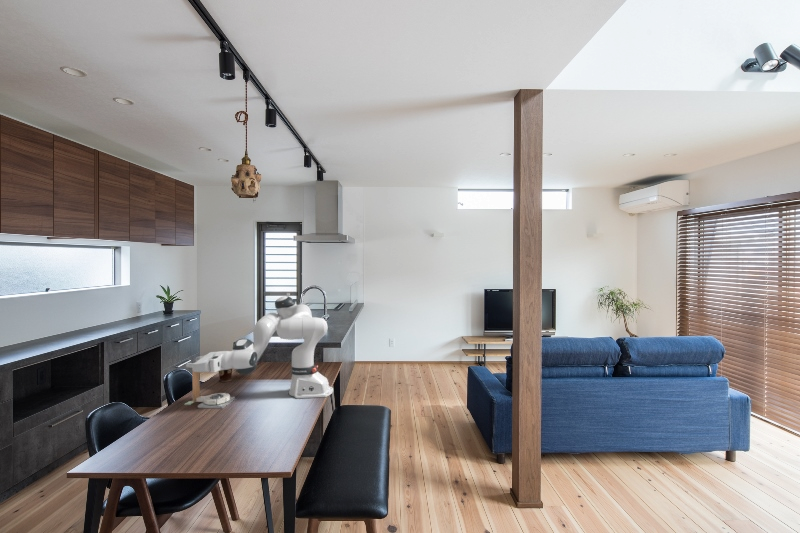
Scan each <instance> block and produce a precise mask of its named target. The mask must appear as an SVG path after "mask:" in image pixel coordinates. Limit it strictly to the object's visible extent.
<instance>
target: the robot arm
mask: <svg viewBox="0 0 800 533" xmlns="http://www.w3.org/2000/svg"><path fill="white" fill-rule="evenodd" d="M296 302H297V300H295V299H293V298H292V297H291V296H289V295H283V296H280V297H279V298H277V299H276V300H275V301H274V306H275V307H274V308H275V309H276V313H275V312H269V313H267V314H265V315H263V316H262V317H261V318H260V319H259V320H258V321H256V322H255V324H254V327H253V329H252V334H253V336H252V337H253V340H251V339H249V338H239V339H238V340H236V341H235V342H234V344H233V346H232V350H220V351H210V352H208V353H207V354H205V355H201V356H196V357H195V362H193V363H192V362H187V363H186V364H185V367H186V368H191V369H192V368H193V371H194V372H199V373H209V372H210V373H211V374H214V373H217V372H219V371H220V370H228V369H232V370H233V369H234V370H235V371H236V373H238V374H240V375H242V376H249V375H251V374H252V373H254V371H255V370H256V369H257V368H258V363H259V361H260V360H261V358H262V356H263V355H264V353H265V351H266V349H267V348H268V345H269V343H270V341H271V338H272V337H273V335H274V333H275V332H276V334H277V336H278V337H279V338H280V339H283V340H289V341H290V340H291V341H292V340H303V342H302V343H301V344H299V345H297V346H296V347H295V348H293V350H292V351H291V366H290V377H291V381H290V389H289V392H288V394H289V396H291V397H294V398H295V399H309V398H311V399H315V398H326V397H329V396H331V394H333V392H334V387H332V386H330V385H329V379H328V378H327V377H325V376H324V375H323V374H321V373H320V372H319V371H318V367H319V365H316V364H315V362H314V360H315V359H314V357H315V349H316V346H317V344H318V343H319V342H320V340H321V339H322V338H323V337H325V335H326V334H327V331H328V329H329V328H328V323H327V321H326V319H325V318H322V317H317V316H313V315H312V313H313V312H312V310H311V308H310V307H309V306H308V305H307V304H304V303H300V304H299V303H298V304H297V303H296Z"/></svg>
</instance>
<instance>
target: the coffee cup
mask: <svg viewBox="0 0 800 533" xmlns="http://www.w3.org/2000/svg"><path fill="white" fill-rule="evenodd" d="M218 377H219V382H225V383H226V382H230V381H232V377H233V369H228V370H220V371H218Z"/></svg>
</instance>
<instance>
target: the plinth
mask: <svg viewBox="0 0 800 533" xmlns="http://www.w3.org/2000/svg"><path fill="white" fill-rule="evenodd" d="M213 394H214V395H212V399H218V398H222V394H218V393H217V394H216V393H213ZM233 400H234V401H235V400H236V397H235V396H230V399H229V400H228V401H227V402H225V403H221V404H215V405H207V404H205V403H204V402H201V403H200V404H198V405H197V408H198V409H224V408H225V407H226V405H227V406H228V405H230V404H231V403H232V402H234V401H233Z"/></svg>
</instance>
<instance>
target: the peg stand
mask: <svg viewBox="0 0 800 533" xmlns="http://www.w3.org/2000/svg"><path fill="white" fill-rule="evenodd" d="M191 370H192V377H191V378H192V401H193V402H194V403H196V402H198V403H199V402H201V403H203V402H204V403H205V404H207V405H215V404H221V403H225V402H227V401H228V400H229V399H230V397H231V394H229V393H228V392H218V393H212V394H209V395H200V393H201V391H200V388H201V387H200V386H201V384H200V383H201V382H200V380H201V379H200V372H194V371H193V368H191ZM214 394H222V398H218V399H212V395H214Z"/></svg>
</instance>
